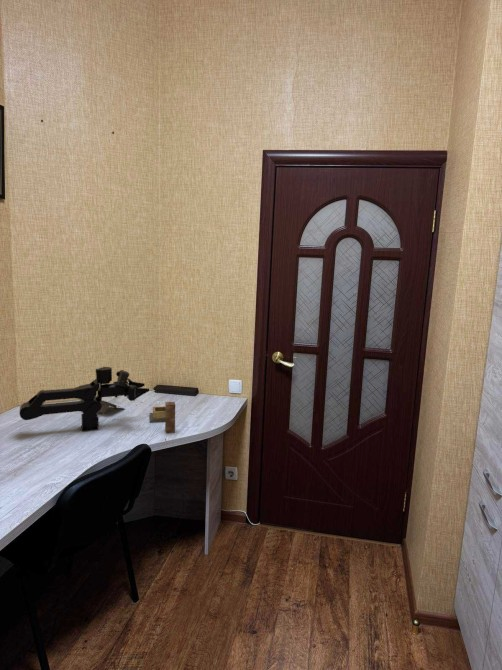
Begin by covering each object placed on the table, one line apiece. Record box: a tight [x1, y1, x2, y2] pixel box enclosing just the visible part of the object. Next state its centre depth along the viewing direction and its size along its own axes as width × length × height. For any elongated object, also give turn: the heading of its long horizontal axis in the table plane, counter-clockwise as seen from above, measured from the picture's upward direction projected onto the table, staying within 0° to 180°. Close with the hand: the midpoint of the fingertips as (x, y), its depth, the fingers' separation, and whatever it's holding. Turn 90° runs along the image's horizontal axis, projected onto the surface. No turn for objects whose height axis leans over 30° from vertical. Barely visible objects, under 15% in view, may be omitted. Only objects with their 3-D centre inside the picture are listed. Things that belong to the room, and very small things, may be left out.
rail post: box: [164, 401, 176, 434], centre depth 199 cm, size 4×4×13 cm
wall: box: [98, 400, 123, 414], centre depth 222 cm, size 16×9×15 cm
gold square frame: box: [149, 405, 165, 423], centre depth 216 cm, size 11×11×4 cm
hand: (146, 387), depth 209 cm, fingers open, 9 cm apart
